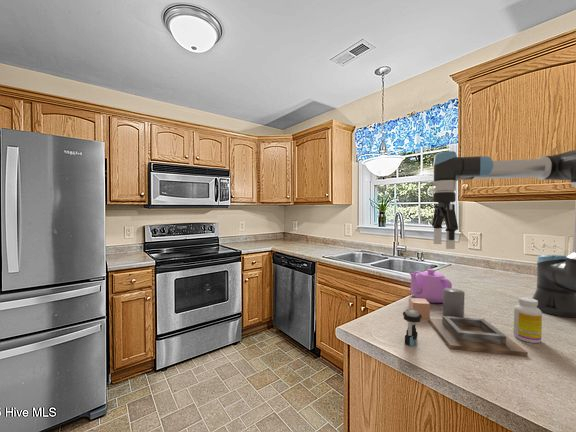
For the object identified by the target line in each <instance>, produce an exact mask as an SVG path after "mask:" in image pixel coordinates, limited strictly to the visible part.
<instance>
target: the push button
mask: <svg viewBox="0 0 576 432" xmlns="http://www.w3.org/2000/svg"><path fill="white" fill-rule="evenodd" d="M402 316H403V320H405V321H406V322H407V323H408V324H407V326H408V327H407V329H406V333H405V336H404V345H407V346H410V347H413V346H414V345H418V336H419V334H418V332H417V328H416V324H418V323H420V322H421V320H422V319H421V318H422V315H421V314H419V312H418V311H416V310H413V309H409V308H408V309H406V310H405V311H403V312H402Z"/></svg>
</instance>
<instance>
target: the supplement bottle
mask: <svg viewBox="0 0 576 432" xmlns="http://www.w3.org/2000/svg"><path fill="white" fill-rule="evenodd" d="M532 298H533V297H526V296H524V297H523V296H521V297H518V299H517V301H518V304H516V305H514V307H513V308H514V309H513V336H514V337H516V339H519V340H521V341H524V342H527V343H530V344H531V343H532V344H539V343H541V341H542V323H543V322H542V318H543V312H541V310H540V309H538V308H537V305H538V301H537V300H535V299H532Z"/></svg>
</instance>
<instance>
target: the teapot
mask: <svg viewBox="0 0 576 432" xmlns="http://www.w3.org/2000/svg"><path fill="white" fill-rule="evenodd" d="M407 273H409V275H410V278H411V279H410V292H411V294H412V295H413V298H422V299H426V300H427V301H428V302H429V303H430V304H431V303H433V304H434V303H435V304H436V303H437V304H439V303H440V304H443V289H445V288H452V287H453V284H452V281H450V280H449V279H447V278H446V277H445V276H444V275H443V274H442V273H439V272H436V269H433V268H427V269H426V271H420V270H416V271H414V272H413V273H412V272H407Z"/></svg>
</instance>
